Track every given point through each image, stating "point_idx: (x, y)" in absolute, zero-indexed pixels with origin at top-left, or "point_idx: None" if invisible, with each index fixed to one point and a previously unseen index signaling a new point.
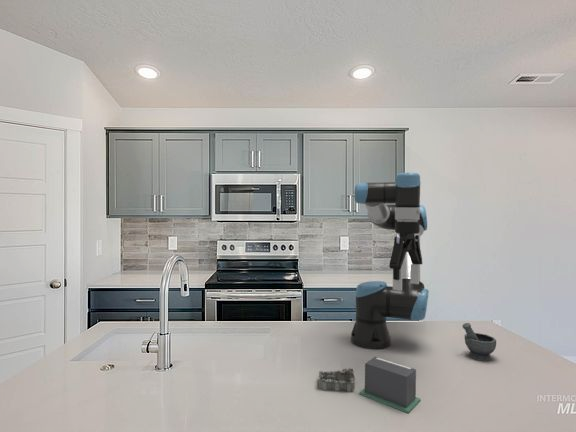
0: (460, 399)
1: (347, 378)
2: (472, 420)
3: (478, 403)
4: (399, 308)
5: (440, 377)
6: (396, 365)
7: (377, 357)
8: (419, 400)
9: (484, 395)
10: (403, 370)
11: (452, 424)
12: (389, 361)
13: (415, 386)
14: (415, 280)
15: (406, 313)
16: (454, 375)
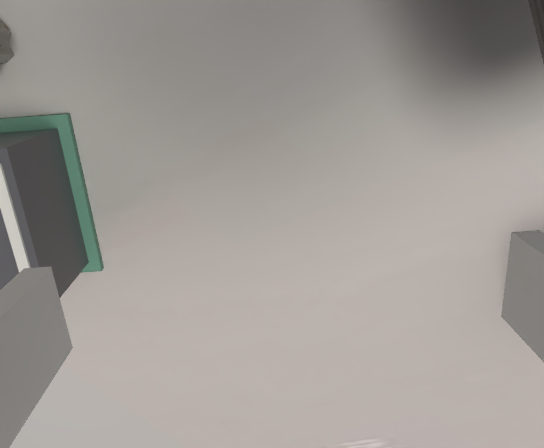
0: (203, 332)
1: (3, 25)
2: (126, 380)
3: (219, 366)
4: (539, 1)
5: (295, 247)
6: (14, 249)
7: (8, 159)
8: (94, 270)
9: (275, 364)
10: (2, 285)
11: (70, 358)
12: (14, 217)
13: (72, 279)
14: (526, 309)
15: (540, 49)
16: (343, 271)
